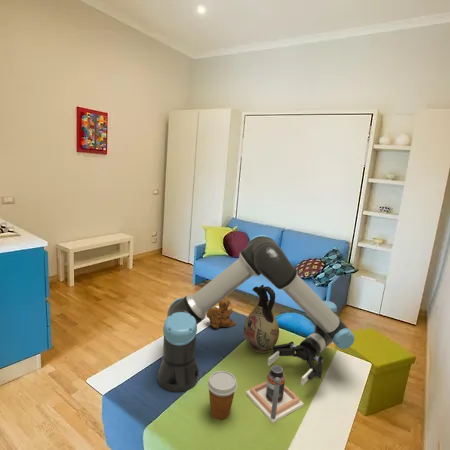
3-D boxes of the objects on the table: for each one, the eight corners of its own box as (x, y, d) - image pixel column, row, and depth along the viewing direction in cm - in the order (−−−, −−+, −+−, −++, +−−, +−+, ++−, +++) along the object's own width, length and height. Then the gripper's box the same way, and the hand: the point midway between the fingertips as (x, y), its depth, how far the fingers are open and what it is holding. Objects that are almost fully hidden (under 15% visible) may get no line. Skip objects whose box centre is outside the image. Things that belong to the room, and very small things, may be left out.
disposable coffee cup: (224, 429, 94) (227, 396, 91) (199, 414, 99) (201, 382, 96) (240, 409, 102) (242, 377, 99) (216, 396, 107) (218, 365, 104)
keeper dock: (272, 423, 97) (277, 381, 94) (245, 393, 109) (249, 355, 105) (303, 405, 105) (308, 366, 102) (275, 380, 116) (279, 343, 113)
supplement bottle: (275, 388, 111) (278, 361, 108) (286, 400, 106) (290, 371, 103) (261, 393, 108) (265, 365, 105) (272, 406, 103) (276, 376, 100)
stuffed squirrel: (237, 324, 153) (239, 300, 150) (215, 334, 144) (217, 308, 141) (223, 316, 160) (225, 292, 157) (202, 324, 151) (203, 300, 148)
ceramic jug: (235, 342, 138) (240, 280, 131) (262, 333, 146) (268, 274, 140) (259, 365, 124) (266, 296, 118) (287, 353, 132) (295, 289, 126)
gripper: (341, 369, 117) (316, 400, 101) (284, 341, 133) (255, 363, 117) (344, 352, 115) (319, 380, 100) (286, 325, 131) (257, 346, 116)
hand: (284, 371), depth 109 cm, fingers open, 13 cm apart
